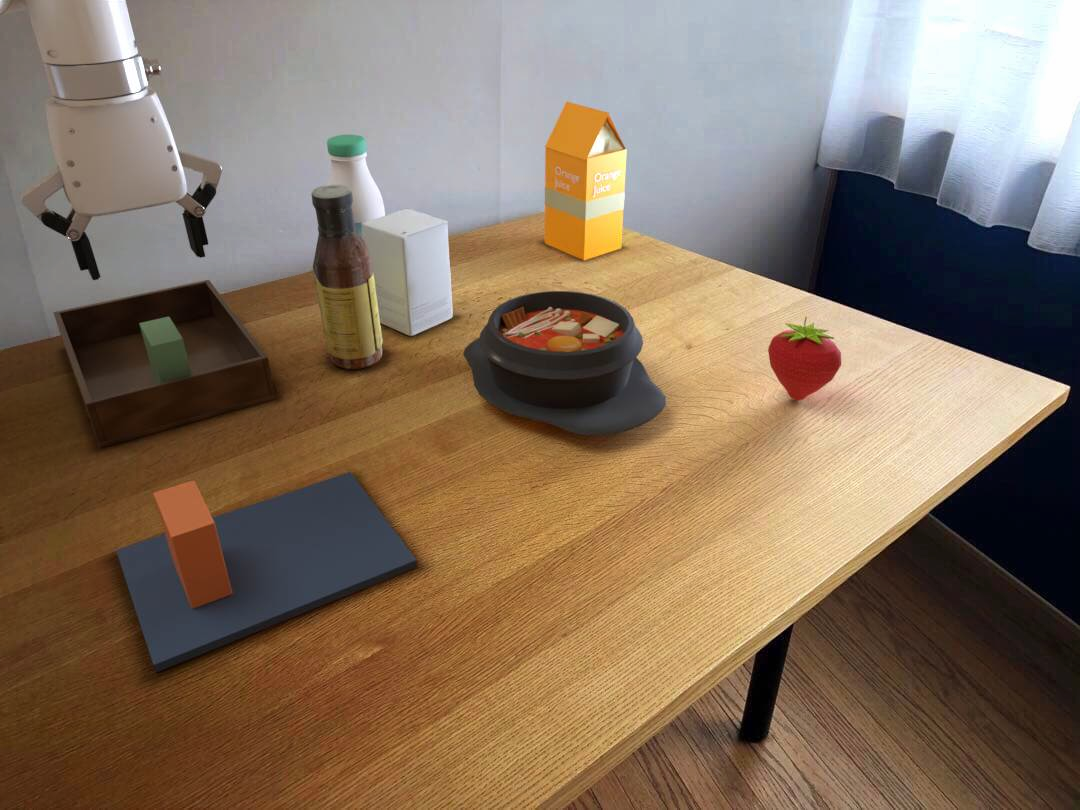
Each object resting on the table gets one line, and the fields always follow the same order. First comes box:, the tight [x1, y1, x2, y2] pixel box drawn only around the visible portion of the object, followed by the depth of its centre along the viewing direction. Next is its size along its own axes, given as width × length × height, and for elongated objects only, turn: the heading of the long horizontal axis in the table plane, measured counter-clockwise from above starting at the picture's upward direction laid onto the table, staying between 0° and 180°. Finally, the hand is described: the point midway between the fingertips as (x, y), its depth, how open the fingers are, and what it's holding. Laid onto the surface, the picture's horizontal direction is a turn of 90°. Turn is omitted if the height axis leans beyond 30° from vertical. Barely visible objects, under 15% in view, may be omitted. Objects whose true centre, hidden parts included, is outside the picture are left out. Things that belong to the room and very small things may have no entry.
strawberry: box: [767, 315, 842, 401], centre depth 88 cm, size 6×8×10 cm
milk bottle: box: [326, 134, 386, 240], centre depth 109 cm, size 8×8×20 cm
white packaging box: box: [362, 208, 454, 337], centre depth 104 cm, size 7×7×13 cm
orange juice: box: [544, 101, 628, 261], centre depth 123 cm, size 8×9×20 cm
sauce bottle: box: [311, 185, 384, 370], centre depth 93 cm, size 6×6×20 cm
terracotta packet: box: [153, 480, 232, 609], centre depth 65 cm, size 3×6×7 cm, turn 32°
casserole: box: [462, 290, 667, 437], centre depth 90 cm, size 25×19×8 cm
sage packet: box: [139, 317, 191, 383], centre depth 89 cm, size 3×6×7 cm, turn 32°
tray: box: [52, 279, 277, 449], centre depth 94 cm, size 17×23×5 cm
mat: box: [115, 471, 418, 673], centre depth 69 cm, size 20×14×1 cm
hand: (147, 263), depth 84 cm, fingers open, 9 cm apart
